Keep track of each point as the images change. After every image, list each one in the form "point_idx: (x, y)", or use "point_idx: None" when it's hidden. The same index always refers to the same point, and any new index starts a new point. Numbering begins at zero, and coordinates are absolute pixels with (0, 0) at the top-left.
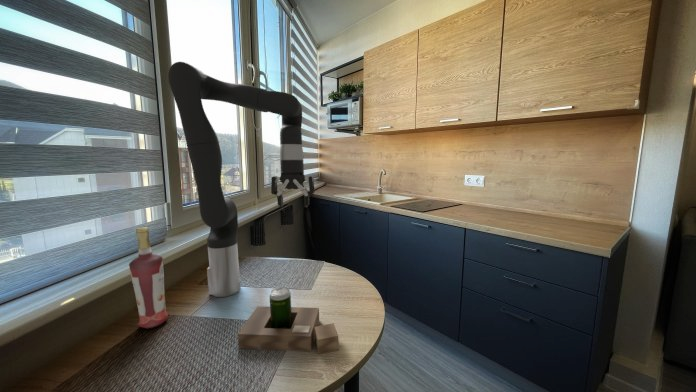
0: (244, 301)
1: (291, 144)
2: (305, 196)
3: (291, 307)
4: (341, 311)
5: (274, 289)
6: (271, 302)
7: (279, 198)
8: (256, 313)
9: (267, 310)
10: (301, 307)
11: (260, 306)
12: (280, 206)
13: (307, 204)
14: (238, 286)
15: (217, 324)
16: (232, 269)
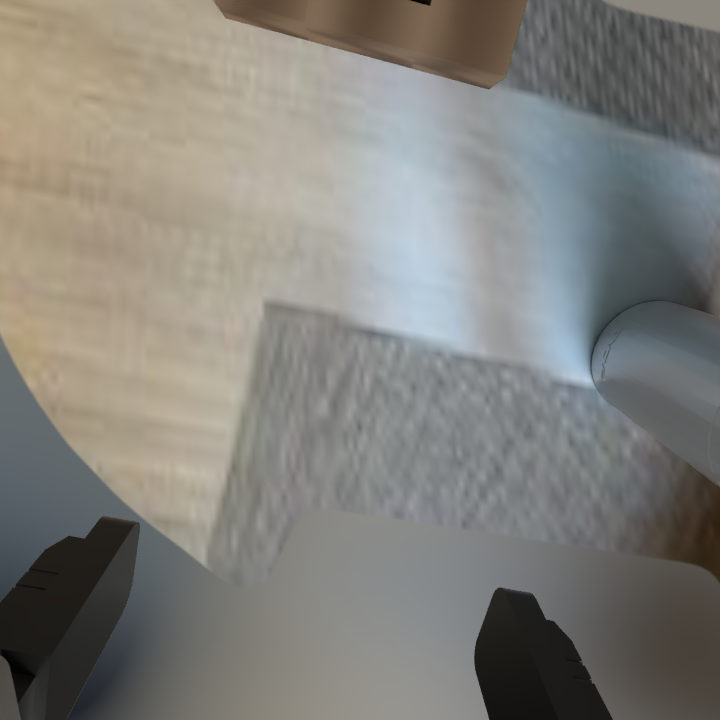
0: (560, 249)
1: None
2: (14, 655)
3: (345, 29)
4: (123, 75)
5: None
6: None
7: (577, 703)
8: (505, 8)
9: (457, 24)
10: (297, 19)
11: (492, 72)
12: (515, 590)
13: (69, 548)
14: (605, 349)
15: (648, 83)
16: (681, 351)
